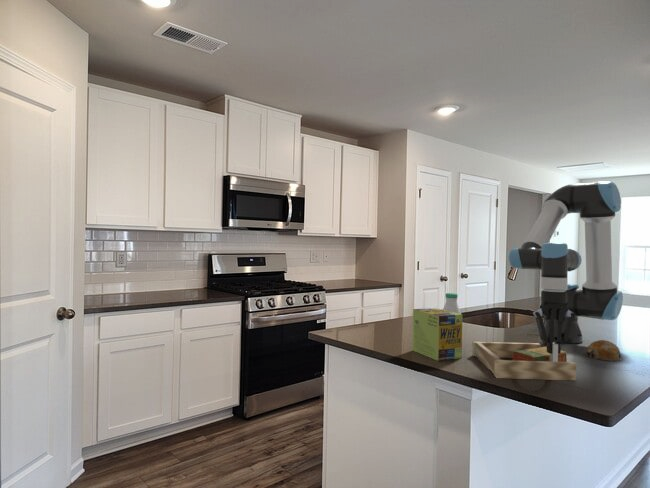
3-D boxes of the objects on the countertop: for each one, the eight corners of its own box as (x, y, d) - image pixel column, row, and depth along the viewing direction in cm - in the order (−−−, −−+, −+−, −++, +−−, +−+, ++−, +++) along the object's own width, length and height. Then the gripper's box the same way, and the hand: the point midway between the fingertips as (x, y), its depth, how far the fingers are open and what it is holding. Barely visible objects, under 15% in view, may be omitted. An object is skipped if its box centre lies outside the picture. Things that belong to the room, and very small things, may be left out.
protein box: (438, 361, 145) (439, 315, 145) (411, 350, 159) (412, 308, 159) (462, 358, 149) (463, 314, 149) (434, 348, 163) (435, 307, 163)
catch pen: (538, 357, 151) (538, 343, 151) (575, 380, 126) (575, 363, 126) (472, 355, 153) (472, 341, 153) (496, 378, 128) (496, 361, 128)
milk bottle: (462, 346, 166) (462, 295, 166) (441, 345, 167) (442, 294, 167) (459, 341, 173) (460, 292, 173) (440, 340, 175) (440, 291, 175)
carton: (567, 364, 144) (567, 351, 143) (534, 369, 137) (534, 356, 137) (544, 357, 151) (545, 345, 151) (512, 362, 144) (512, 350, 144)
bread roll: (614, 372, 147) (627, 353, 145) (583, 355, 152) (595, 336, 150) (613, 365, 155) (625, 347, 153) (583, 350, 160) (594, 331, 158)
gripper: (568, 289, 142) (568, 360, 142) (528, 288, 143) (528, 359, 142) (581, 292, 134) (580, 367, 134) (538, 291, 135) (538, 366, 135)
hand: (553, 363), depth 138 cm, fingers closed
